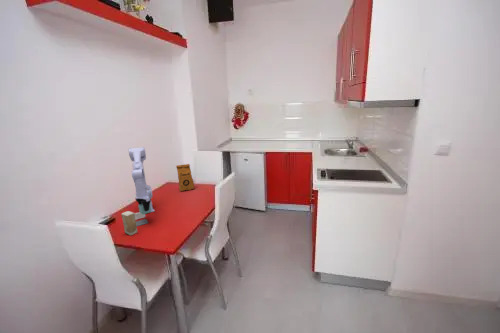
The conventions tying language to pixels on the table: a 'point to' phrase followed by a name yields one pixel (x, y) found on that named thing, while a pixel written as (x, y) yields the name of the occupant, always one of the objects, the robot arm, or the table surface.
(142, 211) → the teal block
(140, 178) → the robot arm
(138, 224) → the mat
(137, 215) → the light grey piece
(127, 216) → the skincare box
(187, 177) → the coffee package
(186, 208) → the table surface
